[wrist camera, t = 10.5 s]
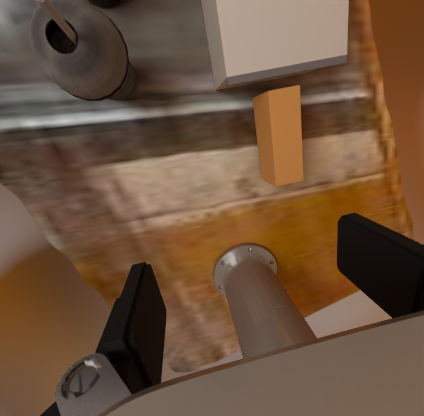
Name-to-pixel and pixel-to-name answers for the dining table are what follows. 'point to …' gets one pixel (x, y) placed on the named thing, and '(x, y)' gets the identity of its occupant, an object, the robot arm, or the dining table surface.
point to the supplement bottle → (104, 2)
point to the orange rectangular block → (279, 135)
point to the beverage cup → (82, 50)
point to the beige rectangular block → (273, 38)
